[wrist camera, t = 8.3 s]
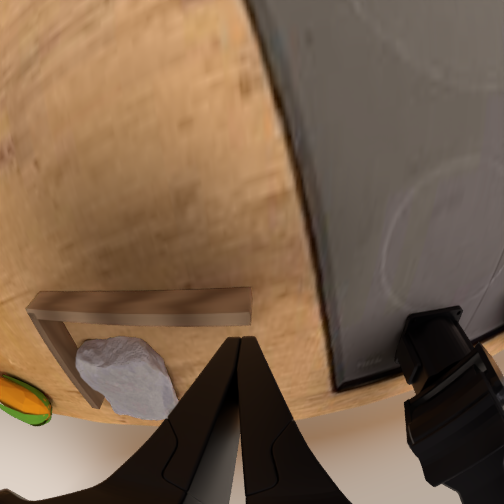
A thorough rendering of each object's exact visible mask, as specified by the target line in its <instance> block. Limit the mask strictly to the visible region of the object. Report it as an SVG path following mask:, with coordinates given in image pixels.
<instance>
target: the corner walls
mask: <svg viewBox="0 0 504 504" xmlns="http://www.w3.org/2000/svg"><path fill="white" fill-rule="evenodd" d="M252 300H253V299H252V290H251V287H240V288H219V289H195V290H165V291H117V292H48V291H40V292H39V293H38V294H37V296H36V297H35V298H34V299H33V300H32V301H31V302H30V304H29V305H28V306H27V307H26V308H25V309H26V311H27V313H28V315H29V316H30V318H31V320H32V322H33V324H34V325H35V327H36V329H37V330H38V332H39V334H40V335H41V337H42V339H43V340H44V342H45V344H46V345H47V347H48V348H49V350H50V351H51V353H52V354H53V356H54V357H55V359H56V360H57V362H58V363H59V365H60V366H61V368H62V369H63V370H64V372H65V373H66V375H67V376H68V377H69V379H70V380H71V381H72V383H73V384H74V385H75V387H76V388H77V389H78V390H79V392H80V393H81V394H82V396H83V397H84V398H85V399H86V400H87V402H88V403H89V404H90V405H91V407H92V408H96V409H100V407H101V405H102V402H103V400H104V397H105V396H104V395H103V394H101V393H100V392H98V391H96V390H94V389H92V388H91V386H89V385H88V384H87V383H86V382H85V381H84V380H83V379H82V378H81V376H80V373H79V371H78V370H77V368H76V357H77V356H76V354H77V350H78V348H77V346H76V344H75V343H74V341H73V339H72V338H71V336H70V334H69V332H68V331H67V329H66V327H65V325H64V323H63V322H75V323H89V324H106V325H127V326H168V327H201V326H243V325H251V316H252ZM62 321H63V322H62Z"/></svg>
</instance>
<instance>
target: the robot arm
mask: <svg viewBox="0 0 504 504" xmlns="http://www.w3.org/2000/svg"><path fill="white" fill-rule="evenodd" d="M462 312H463V310H462V308H461V307H460V306H458V307H453V308H448V309H442V310H437V311H431V312H425V313H419V314H413V315H411V316H409V317H408V319H407V322H406V326H405V329H404V332H403V335H402V337H401V339H400V342H399V345H398V348H397V351H396V356H395V363H396V364H400V366H401V369H402V371H403V374H404V376H405V379H406V382H407V383H408V384H409V385H410V384H412V385H413V388H414V391H415V393H416V395H415V396H414V397H413V398H411V399H408V400H407V401H405V402H404V408H405V421H406V432H407V443H408V445H409V447H410V449H411V450H412V451H413V453H414V454H415V455H416V456H417V457H418V458H419V460H420V463H421V466H422V468H423V473H424V476H425V479H426V481H427V482H428V483H429V484H430V485H432V486H433V487H436V486H438V485H440V484H443V485H445V486H447V487H448V488H450V489H452V490H454V491H456V492H457V493H458V494H459V496H460V499H461V502H462V504H504V377H503V374H502V373H501V371H500V369H499V367H498V366H497V364H496V363H495V361H494V359H493V358H492V356H491V355H490V354H489V353H488V351H487V350H486V349H485V348H484V347H483V346H482V345H481V343H480V342H479V343H478V344H477V345H476V346H475V348H474V347H473V345H472V343H471V342H470V340H469V339H468V337H467V335H466V334H465V332H464V331H463V329H462V328H461V326H460V324H459V323H458V322H459V320H460V317H461V315H462ZM240 434H241V447H242V461H243V474H244V487H245V496H246V504H352V503H351V502H350V501H349V500H348V499H347V498H346V497H345V495H344V494H343V493H342V492H341V491H340V490H339V488H338V487H337V486H336V484H335V483H334V482H333V481H332V479H331V478H330V476H329V475H328V474H327V472H326V471H325V470H324V468H323V467H322V466H321V464H320V463H319V462H318V460H317V459H316V457H315V456H314V454H313V453H312V452H311V450H310V449H309V447H308V445H307V443H306V442H305V440H304V438H303V436H302V434H301V432H300V431H299V429H298V427H297V424H296V422H295V421H294V419H293V416H292V414H291V412H290V410H289V408H288V406H287V404H286V402H285V400H284V398H283V396H282V393H281V391H280V389H279V387H278V385H277V383H276V381H275V379H274V376H273V374H272V372H271V370H270V368H269V366H268V363H267V361H266V359H265V357H264V355H263V353H262V350H261V348H260V346H259V344H258V341H257V339H256V337H255V336H244V337H242V338H241V337H228V338H227V339H226V340H225V341H224V343H223V344H222V345H221V347H220V348H219V349H218V351H217V352H216V353H215V355H214V356H213V357H212V359H211V360H210V361H209V363H208V364H207V365H206V367H205V368H204V369H203V371H202V372H201V373H200V375H199V376H198V377H197V379H196V380H195V381H194V383H193V384H192V385H191V387H190V388H189V389H188V390H187V392H186V393H185V394H184V396H183V397H182V398H181V400H180V401H179V402H178V403H177V405H176V406H175V407H174V409H173V410H172V411H171V412H170V414H169V415H168V418H166V419H165V420H164V421H163V422H162V424H161V425H160V426H159V428H158V429H157V430H156V431H155V432H154V433H153V435H152V436H151V437H150V438H149V439H148V440H147V441H146V442H145V443H144V445H143V446H141V448H140V449H139V450H138V451H137V452H136V453H134V455H132V456H131V457H130V458H129V459H128V460H127V461H126V462H125V463H124V464H123V465H122V466H121V467H120V468H118V469H117V470H116V471H115V472H114V473H113V474H112V475H111V476H110V477H108V478H107V479H106V480H104V481H103V482H101V483H100V484H98V485H96V486H93V487H91V488H88V489H84V490H81V491H77V492H73V493H70V494H66V495H62V496H58V497H53V498H49V499H44V500H38V501H29V500H27V499H25V498H23V497H21V496H20V495H18V494H16V493H14V492H12V491H11V490H9V489H2V490H0V504H229V500H230V494H231V488H232V482H233V476H234V470H235V463H236V457H237V451H238V444H239V437H240Z"/></svg>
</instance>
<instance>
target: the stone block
mask: <svg viewBox="0 0 504 504" xmlns="http://www.w3.org/2000/svg"><path fill="white" fill-rule="evenodd" d="M76 356H77V357H76V368H77V370H78V371H79V373H80V376H81V378H82V379H83V380H84V381H85V382H86V383H87V384H88V385H89V386H91V388H92V389H94V390H96V391H98V392H100V393H101V394H103V395H104V396H105V398H106V399H107V400H108V401H109V402H110V404H111V406H112V408H113V411H114V412H115V413H117V414H119V415H129V416H132V417H135V418H141V419H145V420H162V419H166V418H168V415H169V414H170V412H171V411H172V410H173V409H174V407H175V406H176V405H177V403H178V402H179V400H178V399H177V397H176V392H175V390H174V388H173V385H172V383H171V380H170V377H169V375H168V372H167V369H166V367H165V364H164V360H163V358H162V357H161V356H159V355H158V354H157V353H156V352H155V351H154V350H153V349H152V348H151V347H150V346H149V345H148V344H147V343H146V342H145V341H143V340H142V339H140V338H136V337H126V336H118V337H113V338H108V339H94V340H86V341H85V342H84V343H83V344H82V345H81V346H80V348H79V349H78V350H77V354H76Z"/></svg>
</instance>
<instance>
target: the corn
mask: <svg viewBox="0 0 504 504" xmlns="http://www.w3.org/2000/svg"><path fill="white" fill-rule="evenodd" d="M2 376H3V377H5V378H2V377H0V402H1V403H2V404H3V405H4V406H3V405H1V404H0V408H1V409H2V410H3V411H5V412H6V413H8V414H10V415H11V416H13V417H15V418H17V419H19V420H21V421H23V422H26V423H28V424H30V425H33V426H41V425H44V424H46V423H48V422H49V421H50V420H51V415H52V405H51V403H50V402H49V401H48V400H47V398H46V397H45V395H44V394H43V393H41V392H40V391H39V390H37V389H36V388H34V387H32V386H30V385H28V384H26V383H24V382H21V381H19V380H17V379H14V378H12V377H9V376H6V375H2ZM6 378H8V379H6ZM49 417H50V418H49Z"/></svg>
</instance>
